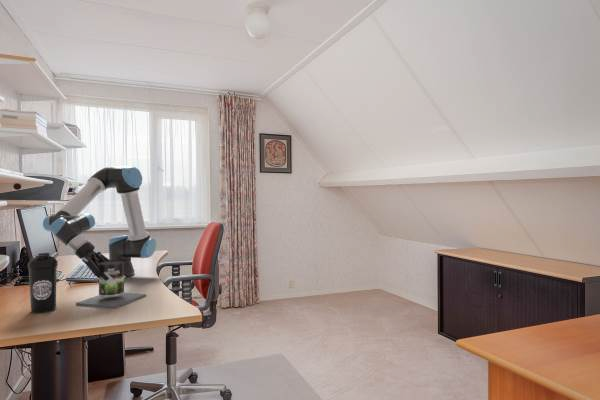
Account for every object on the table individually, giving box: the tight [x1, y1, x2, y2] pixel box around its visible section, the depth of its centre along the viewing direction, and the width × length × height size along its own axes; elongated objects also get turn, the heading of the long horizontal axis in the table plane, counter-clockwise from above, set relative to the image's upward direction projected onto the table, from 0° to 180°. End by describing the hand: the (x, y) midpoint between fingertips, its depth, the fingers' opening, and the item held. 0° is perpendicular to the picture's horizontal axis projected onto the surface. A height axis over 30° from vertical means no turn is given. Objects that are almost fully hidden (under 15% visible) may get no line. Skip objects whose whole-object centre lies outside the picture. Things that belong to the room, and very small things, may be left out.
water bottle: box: [27, 252, 59, 314], centre depth 158 cm, size 10×10×23 cm
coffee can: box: [98, 261, 125, 297], centre depth 172 cm, size 10×10×14 cm
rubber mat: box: [75, 291, 147, 309], centre depth 172 cm, size 20×20×1 cm
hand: (118, 281), depth 172 cm, fingers closed on coffee can, 10 cm apart
